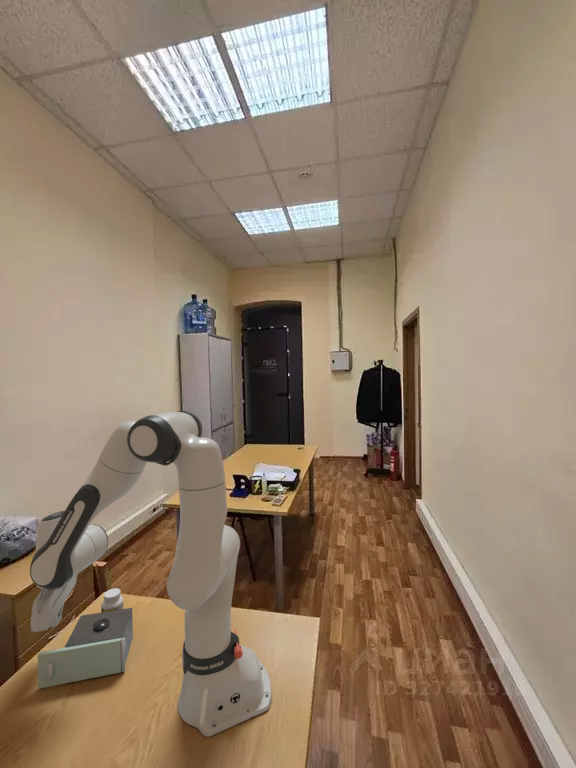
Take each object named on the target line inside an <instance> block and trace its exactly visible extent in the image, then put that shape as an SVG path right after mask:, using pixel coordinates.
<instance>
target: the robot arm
mask: <svg viewBox="0 0 576 768" xmlns="http://www.w3.org/2000/svg"><path fill="white" fill-rule="evenodd" d="M202 434H203V425H202V422H201V420H200V419H199V417H198V416H197V415H195V414H194V413H193V412H190V411H184V410H178V411H163V412H159V413H154V414H150V415H146V416H144V417H142V418H140V419H138V420H125V421H123V422H121V423H119V424H118V425H117V426H116V428H114V430H113V432H111V435H110V436H109V438H108V439H107V441H106V442H105V445H104V447H103V449H102V450H101V452H100V455H99V456H98V459H97V461H96V463H95V465H94V467H93V468H92V470H91V472H90V474H89V475H88V477H86V479H85V481H84V482H83V484H82V485H81V487H80V488H79V489H78V490H77V491H76V493H75V494H74V496H73V497H72V498H71V500H70V502H69V503H68V505H67V507H66V509H65V510H62V511H58V512H53V513H51V514H49V515H47V516H44V518H42V519H41V520H40V521H39V523H38V526H37V530H36V538H35V553H34V555H33V557H32V558H31V563H30V567H29V576H30V579H31V581H32V582H33V583H34V584H35V586H36V587H37V588H39V589H41V591H40V592H39V593H38V595H37V596H36V597H35V598H34V601H33V602H32V603H33V604H32V608H31V614H30V615H31V618H30V630H31V632H32V633H38V632H44V631H48V630H49V628H55V627H58V625H59V623H60V622H61V620H62V618H63V615H62V614H63V610H64V606H65V605H64V604H65V602H66V601H67V599H68V597H69V595H70V594H71V592H72V591H73V589H74V587H75V586H76V583H77V580H78V574H79V573H81V572H82V571H84V570H85V569H86V568H88V567H90V565H92V564H93V563H94V562H96V561H98V560H99V559H100V558H101V557H102V556H104V555H105V554H106V552H107V550H108V547H109V536H108V533H107V532H106V530H105V529H104V528H103V527H102V526H100V525H98V524H95V523H94V524H93V523H92V521H94V519H95V518H97V516H98V515H99V514H100V513H102V511H104V510H105V509H106V508H107V507H109V506H111V505H112V504H113V503H115V502H116V501H118V500H119V499H121V498H123V497H124V496H125V495H127V494H128V493H129V492H130V491H132V489H133V488H134V487H135V485H136V484H137V482H138V481H139V480H140V477H141V476H142V474H143V472H144V470H145V468H146V465H147V463H155V464H158V465H161V466H170V465H171V464H174V466H175V467H176V470H177V475H178V476H177V477H178V480H177V481H178V494H179V511H180V512H179V513H180V516H179V517H180V519H179V520H180V522H179V529H178V535H177V536H178V537H177V543H176V549H175V555H174V559H173V564H172V567H171V570H170V573H169V575H168V578H167V580H166V591H167V595H168V597H169V600H170V601H171V602H172V603H173V605H174V606H176V607H177V608H179V609H181V610H184V642H183V645H182V652H181V653H182V655H181V656H182V657H181V658H182V660H181V661H182V664H181V666H182V670H183V671H182V672H183V675H182V677H183V678H182V683H181V684H182V685H181V690H180V694H179V697H178V700H177V701H178V702H177V711H178V714H179V716H180V718H181V719H182V720H183V722H185V723H186V724H187V725H189V726H192V727H195V728H197V729H198V730H199V731H200V733H201V734H202V735H203V736H204V737H207V738H209V737H211V736H214V735H216V734H218V733H221V732H222V731H225V730H227V729H230V728H232V727H234V726H237V725H239V724H240V723H243V722H246V721H247V720H249V719H251V717H252V718H254V717H256V716H258V715H260V714H263V713H265V712H267V711H268V710H269V708H270V706H271V703H272V684H271V679H270V676H269V672H268V670H267V668H266V667H265V666H264V664H263V663H262V662H261V661H259V658H258V656H257V654H256V653H255V652H254V650H253V649H252V648H249V647H246V646H245V645H242V644H241V643H240V637H239V636H238V632H237V629H236V628H234V632H233V631H232V603H233V602H232V600H233V594H234V586H235V580H236V572H237V565H238V564H237V562H238V558H239V557H238V556H239V551H240V547H241V539H240V536H239V534H238V533H237V531H236V530H235V529H234V528H233V527H232V526H229V525H227V524H225V523H226V520H227V516H228V502H227V501H228V499H227V487H226V473H225V466H224V461H223V456H222V452H221V448H220V446H219V444H218V443H217V442H216V441H215V440H214V439H212V438H209V437H204V436H203V437H202ZM91 523H92V524H91ZM253 716H254V717H253Z"/></svg>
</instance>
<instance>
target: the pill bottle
mask: <svg viewBox="0 0 576 768" xmlns="http://www.w3.org/2000/svg"><path fill="white" fill-rule="evenodd" d="M121 594H122V593H121V589H120V588H116V587H115V588H110V589H108V590H107V591H105V592H104V594H103V601H102V602H101V605H100V611H101V612H108V611H114V610H120V609H124V598H123V595H121ZM101 612H100V613H101Z"/></svg>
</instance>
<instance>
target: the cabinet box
mask: <svg viewBox="0 0 576 768" xmlns="http://www.w3.org/2000/svg"><path fill="white" fill-rule="evenodd" d="M133 621H134V619H133V607H128V608H123V609H120V610H114V611H108V612H95V613H89V614H82V615H80V616H79V619H78V620H77V622H76V624H75V626H74V628H73V629H72V631H71V634H70V635H69V638H68V640H67V642H66V644H65V646H64V648H66V647H72V646H78V645H83V644H89V643H95V642H101V641H106V640H112V639H118V638H123V637H124V638H125V665H126V662H127V659H128V656H129V653H130V652H129V651H130V648H131V645H132V642H133V641H132V640H133V637H134V636H133V633H134V632H133V630H134V629H133V627H134V626H133V624H134V623H133Z"/></svg>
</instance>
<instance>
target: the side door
mask: <svg viewBox="0 0 576 768" xmlns="http://www.w3.org/2000/svg"><path fill="white" fill-rule="evenodd" d="M125 671H126V664H125V638H124V637H123V638H118V639H112V640H106V641H101V642H95V643H89V644H83V645H78V646H72V647H66V648H65V647H63V648H55V649H51V650H46V651H45V650H44V651H40V652H39V653H38V654H37V684H38V685H37V688H38V690H39V689H43V688H49V687H55V686H60V685H64V684H68V683H75V682H79V681H83V680H84V681H85V680H88V679H89V680H90V679H94V678H99V677H105V676H110V675H114V674H119V673H123V672H125Z"/></svg>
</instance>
